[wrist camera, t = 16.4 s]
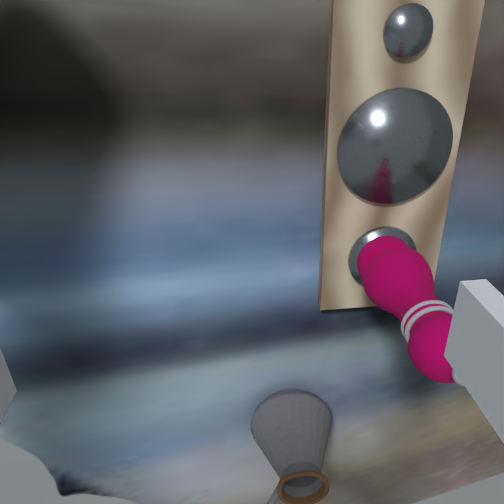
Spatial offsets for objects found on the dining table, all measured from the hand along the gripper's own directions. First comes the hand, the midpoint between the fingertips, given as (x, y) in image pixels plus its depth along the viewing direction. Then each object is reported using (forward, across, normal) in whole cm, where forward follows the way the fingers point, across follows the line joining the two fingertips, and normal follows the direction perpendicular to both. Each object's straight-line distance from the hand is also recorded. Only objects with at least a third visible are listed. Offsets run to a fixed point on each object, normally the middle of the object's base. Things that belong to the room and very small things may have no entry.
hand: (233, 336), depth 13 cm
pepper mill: (+34, +18, -18) cm, 43 cm away
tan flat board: (+36, +18, -7) cm, 41 cm away
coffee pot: (+36, +4, -47) cm, 60 cm away
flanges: (+35, +18, -1) cm, 39 cm away
